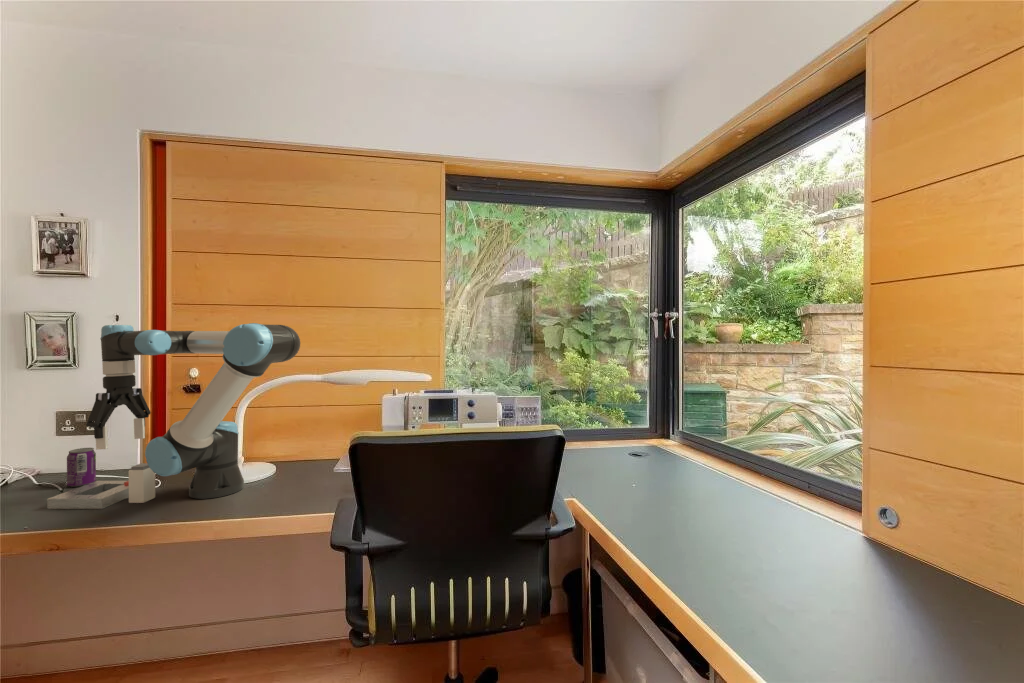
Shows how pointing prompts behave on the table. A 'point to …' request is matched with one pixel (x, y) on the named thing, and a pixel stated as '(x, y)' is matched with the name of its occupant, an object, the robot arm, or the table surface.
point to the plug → (141, 483)
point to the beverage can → (81, 467)
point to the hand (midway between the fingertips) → (121, 443)
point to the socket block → (91, 496)
